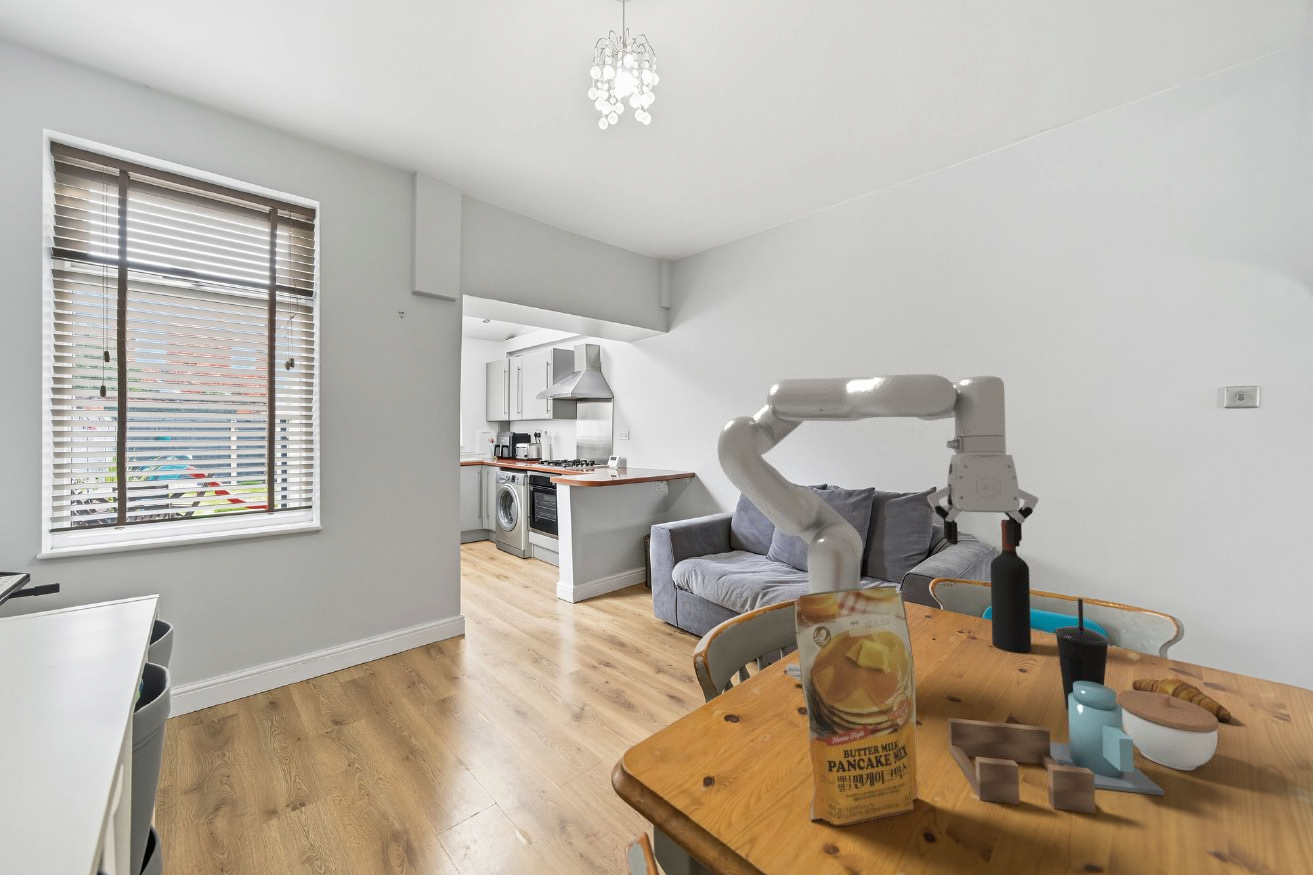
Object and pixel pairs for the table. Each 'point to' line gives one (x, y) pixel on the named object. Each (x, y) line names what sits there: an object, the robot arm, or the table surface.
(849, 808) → the pancake mix bag
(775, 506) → the robot arm
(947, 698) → the table surface
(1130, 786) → the coaster
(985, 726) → the cradle
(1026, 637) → the wine bottle
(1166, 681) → the croissant
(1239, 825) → the table surface
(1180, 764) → the lidded jar
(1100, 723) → the jug
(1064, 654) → the drinking cup
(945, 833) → the table surface
